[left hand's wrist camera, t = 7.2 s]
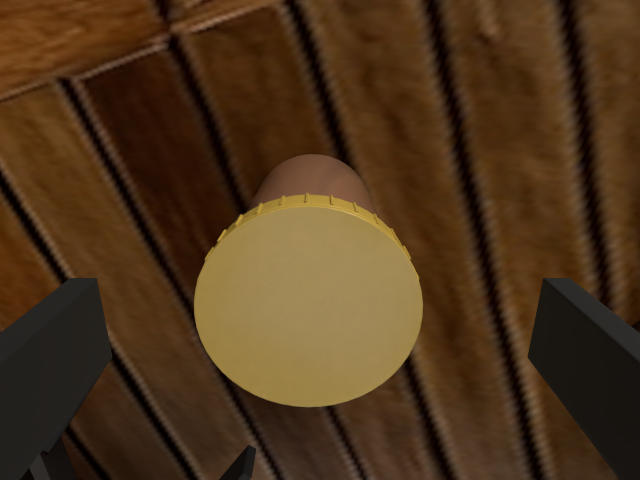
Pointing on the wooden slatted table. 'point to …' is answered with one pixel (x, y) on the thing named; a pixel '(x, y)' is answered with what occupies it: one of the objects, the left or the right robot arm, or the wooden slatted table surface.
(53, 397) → the left robot arm
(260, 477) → the wooden slatted table surface
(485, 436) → the wooden slatted table surface
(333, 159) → the jar
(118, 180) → the wooden slatted table surface
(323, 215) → the lid
